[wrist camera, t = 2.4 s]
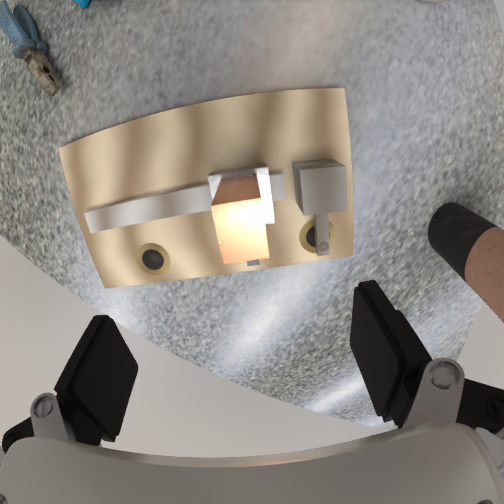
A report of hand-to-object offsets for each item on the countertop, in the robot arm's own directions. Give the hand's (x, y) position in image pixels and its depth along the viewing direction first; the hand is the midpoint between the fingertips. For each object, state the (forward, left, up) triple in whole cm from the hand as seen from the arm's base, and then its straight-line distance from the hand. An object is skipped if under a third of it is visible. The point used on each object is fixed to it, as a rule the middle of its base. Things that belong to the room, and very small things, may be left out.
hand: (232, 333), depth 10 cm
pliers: (+21, -24, -21) cm, 38 cm away
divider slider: (0, +2, -18) cm, 18 cm away
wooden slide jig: (+4, 0, -20) cm, 21 cm away
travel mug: (-26, +8, -21) cm, 34 cm away
